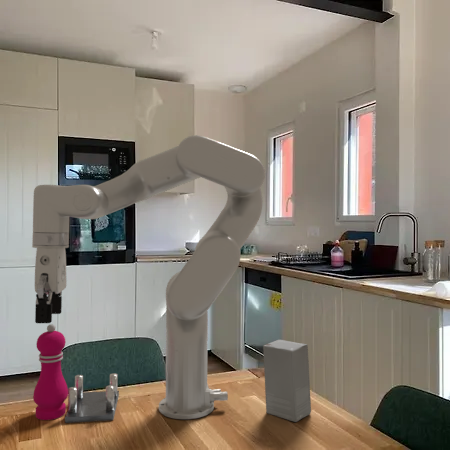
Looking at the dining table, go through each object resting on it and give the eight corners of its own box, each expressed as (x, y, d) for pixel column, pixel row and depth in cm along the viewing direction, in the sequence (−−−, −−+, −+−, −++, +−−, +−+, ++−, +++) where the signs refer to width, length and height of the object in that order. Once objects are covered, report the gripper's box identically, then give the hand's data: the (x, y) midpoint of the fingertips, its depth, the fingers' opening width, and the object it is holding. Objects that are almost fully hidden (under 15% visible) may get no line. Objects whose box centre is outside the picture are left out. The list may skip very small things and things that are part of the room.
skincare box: (311, 414, 100) (312, 343, 100) (293, 425, 95) (293, 350, 95) (280, 404, 106) (281, 337, 106) (261, 413, 101) (262, 342, 101)
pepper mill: (56, 422, 96) (56, 328, 96) (26, 419, 97) (26, 327, 97) (74, 409, 103) (74, 321, 103) (45, 406, 104) (46, 320, 104)
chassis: (118, 395, 111) (118, 370, 111) (113, 420, 97) (113, 391, 97) (76, 397, 109) (76, 372, 109) (65, 422, 96) (65, 393, 96)
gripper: (60, 243, 92) (58, 326, 92) (75, 239, 109) (73, 310, 109) (21, 242, 91) (19, 327, 91) (42, 239, 108) (41, 310, 108)
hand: (48, 318), depth 100 cm, fingers open, 9 cm apart
